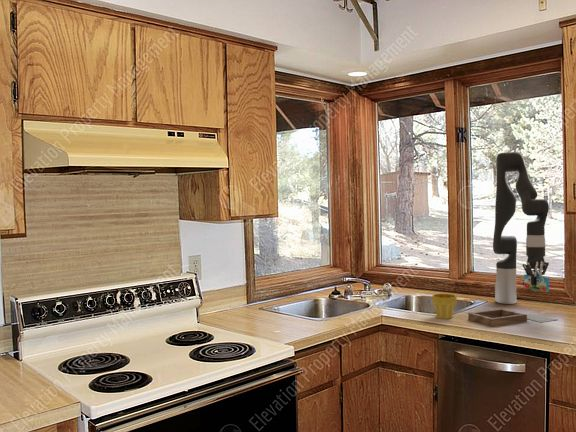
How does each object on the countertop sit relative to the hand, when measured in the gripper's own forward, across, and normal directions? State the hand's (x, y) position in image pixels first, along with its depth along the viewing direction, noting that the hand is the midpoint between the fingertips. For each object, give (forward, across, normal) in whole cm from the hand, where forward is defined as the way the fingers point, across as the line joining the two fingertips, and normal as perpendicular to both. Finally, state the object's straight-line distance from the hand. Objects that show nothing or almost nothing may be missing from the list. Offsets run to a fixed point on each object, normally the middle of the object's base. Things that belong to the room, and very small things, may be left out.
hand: (535, 285), depth 240 cm
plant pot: (+15, +33, -20) cm, 41 cm away
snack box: (+2, 0, 0) cm, 2 cm away
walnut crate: (+14, +18, -4) cm, 23 cm away
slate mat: (+14, 0, 0) cm, 14 cm away
